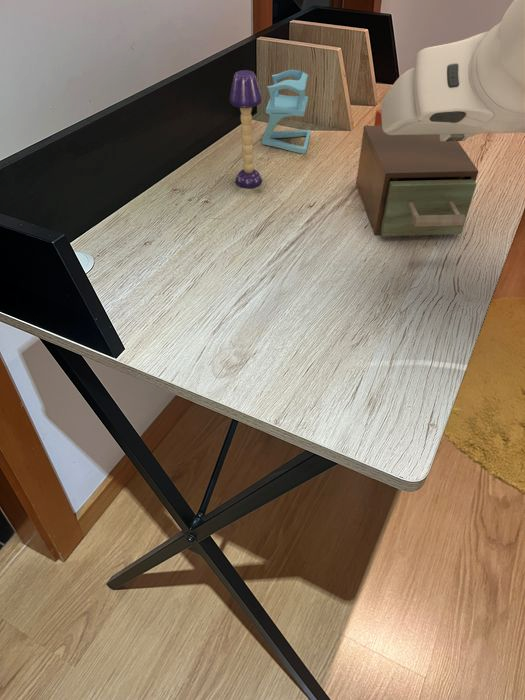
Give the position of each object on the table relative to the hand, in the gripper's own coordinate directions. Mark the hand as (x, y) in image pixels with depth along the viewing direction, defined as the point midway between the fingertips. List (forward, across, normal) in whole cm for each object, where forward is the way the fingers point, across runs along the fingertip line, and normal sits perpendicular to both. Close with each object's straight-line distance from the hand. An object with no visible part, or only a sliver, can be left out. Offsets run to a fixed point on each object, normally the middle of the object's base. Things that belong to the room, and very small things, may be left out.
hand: (451, 135), depth 69 cm
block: (+35, -3, -12) cm, 37 cm away
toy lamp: (+25, +24, -2) cm, 35 cm away
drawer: (+15, 0, +7) cm, 16 cm away
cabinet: (+19, 0, +4) cm, 19 cm away
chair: (+35, +16, -12) cm, 40 cm away
